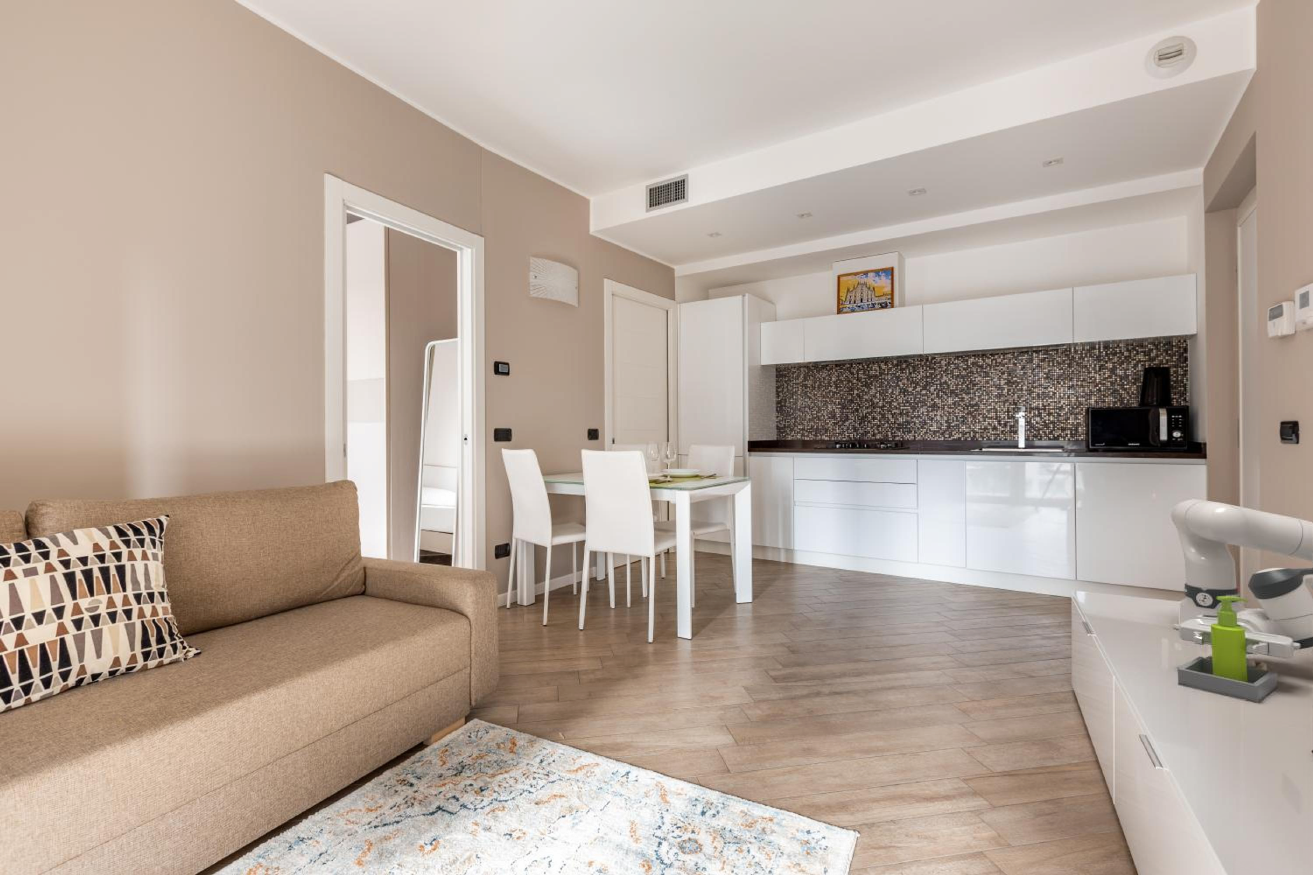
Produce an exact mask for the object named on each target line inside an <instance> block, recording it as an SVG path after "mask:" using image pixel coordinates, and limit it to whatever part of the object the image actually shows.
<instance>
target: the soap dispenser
mask: <svg viewBox="0 0 1313 875" xmlns="http://www.w3.org/2000/svg"><path fill="white" fill-rule="evenodd" d="M1217 599H1218V600H1221V602H1222V609H1220V610H1217V619H1218V623H1215V624H1211V642H1212V645H1211V654H1212V663H1213V675H1214V676H1219V677H1224V678H1228V679H1233V680H1237V681H1242V682H1247V664H1246V658H1247V654H1246V643H1245V629H1244V628H1243V627H1240V626H1237V613H1236V612H1234V611H1233V610H1232V608H1231V601H1240V602H1245V603H1247V602H1249V601H1250V600H1249V599H1246V598H1243V597H1235V596H1219V597H1217Z"/></svg>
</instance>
